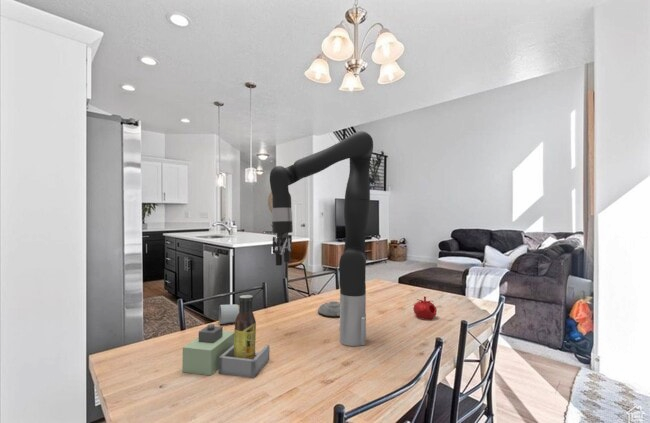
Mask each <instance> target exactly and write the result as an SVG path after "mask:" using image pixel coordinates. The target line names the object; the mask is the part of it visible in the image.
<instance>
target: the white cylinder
mask: <svg viewBox="0 0 650 423" xmlns="http://www.w3.org/2000/svg"><path fill="white" fill-rule="evenodd" d="M218 308H219V309H218V323H219V324H220V325H224V324H226V325H227V324H235V319H236V317H237V315H238V314H239V312H240V311H239V309H240V304H220V305H219V307H218Z"/></svg>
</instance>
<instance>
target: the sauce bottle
mask: <svg viewBox="0 0 650 423" xmlns="http://www.w3.org/2000/svg"><path fill="white" fill-rule="evenodd" d="M253 296H254V295H251V294H243V295H240V296H238V299H239V300H238V301H239V306H240V309H239V311H240V312H239V314H238V315H237V317H236V319H235V322H234V330H233V332H234V357H235V358H245V359H254V358H255V353H256V340H257V339H256V337H257V334H256V333H257V331H256V329H257V321H256V317H255V315H254V313H253V312H254V311H253V301H254V297H253Z"/></svg>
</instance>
